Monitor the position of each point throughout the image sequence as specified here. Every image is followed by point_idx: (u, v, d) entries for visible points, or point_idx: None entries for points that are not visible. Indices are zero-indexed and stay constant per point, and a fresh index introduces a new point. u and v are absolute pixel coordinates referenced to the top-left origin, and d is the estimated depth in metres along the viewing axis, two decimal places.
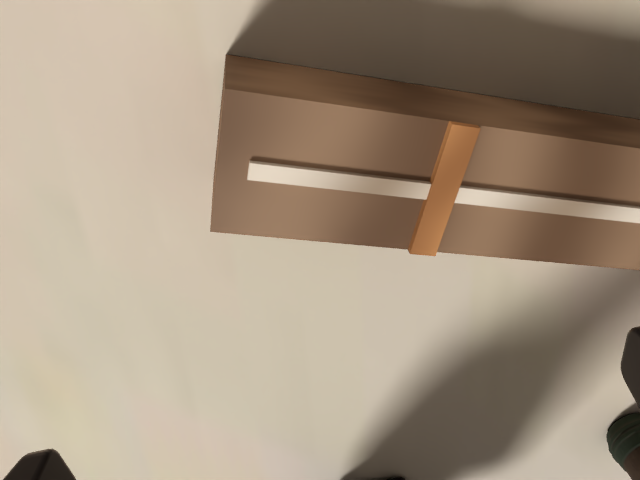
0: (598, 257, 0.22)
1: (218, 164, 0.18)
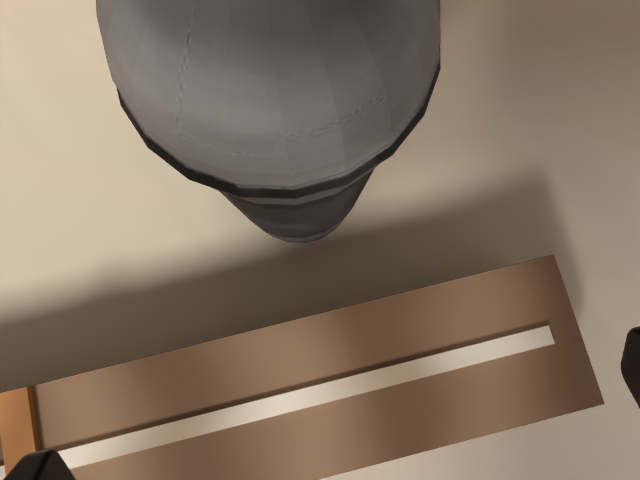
0: (271, 477, 0.17)
1: None
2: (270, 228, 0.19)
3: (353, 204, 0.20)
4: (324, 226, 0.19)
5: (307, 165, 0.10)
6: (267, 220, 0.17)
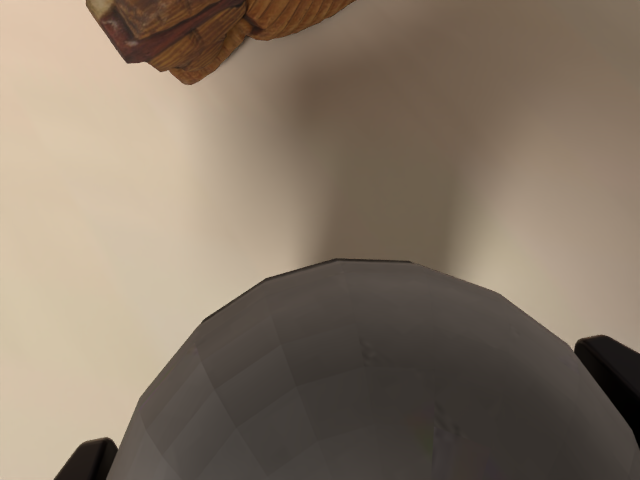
0: None
1: None
2: None
3: None
4: None
5: None
6: None
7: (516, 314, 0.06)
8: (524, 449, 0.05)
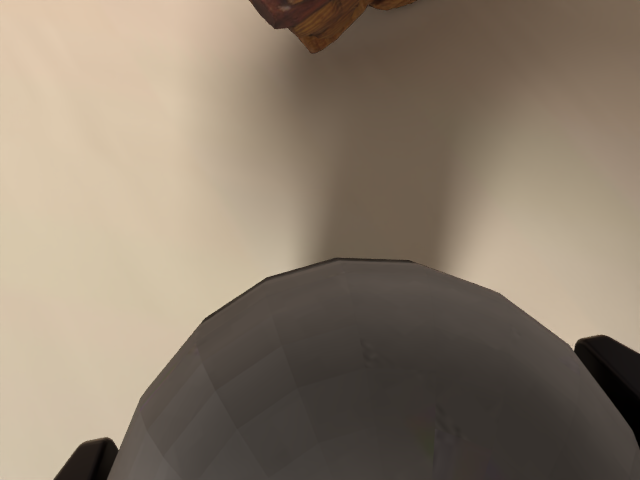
0: None
1: None
2: None
3: None
4: None
5: None
6: None
7: (517, 314, 0.06)
8: (525, 451, 0.05)
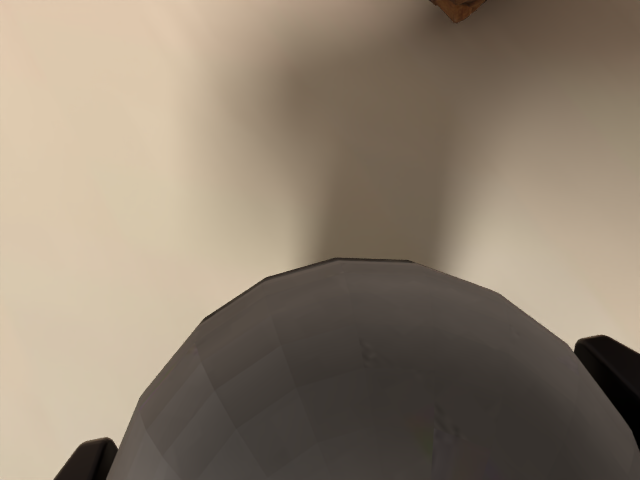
0: None
1: None
2: None
3: None
4: None
5: None
6: None
7: (516, 314, 0.06)
8: (524, 450, 0.05)
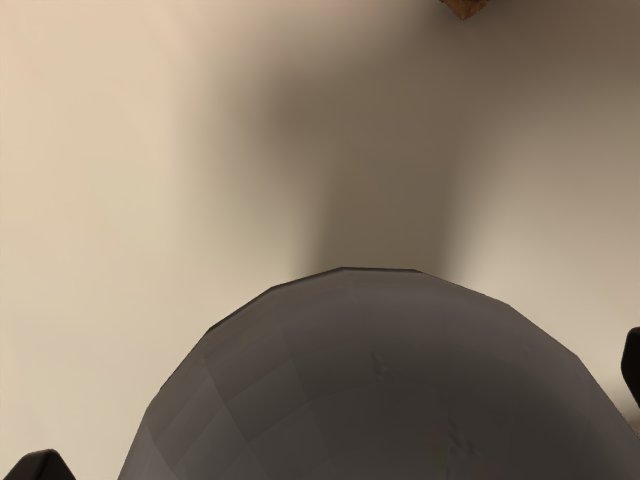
0: None
1: None
2: None
3: None
4: None
5: None
6: None
7: (526, 326, 0.06)
8: (538, 466, 0.05)
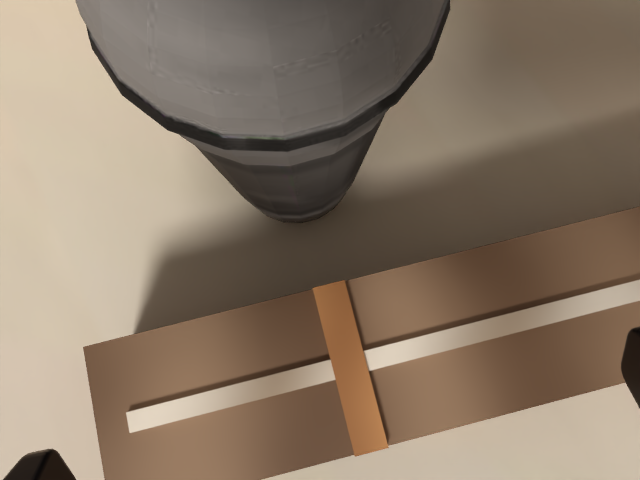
0: (607, 372, 0.16)
1: (98, 429, 0.16)
2: (264, 203, 0.18)
3: (352, 179, 0.19)
4: (321, 201, 0.18)
5: (300, 108, 0.09)
6: (260, 191, 0.16)
7: None
8: None
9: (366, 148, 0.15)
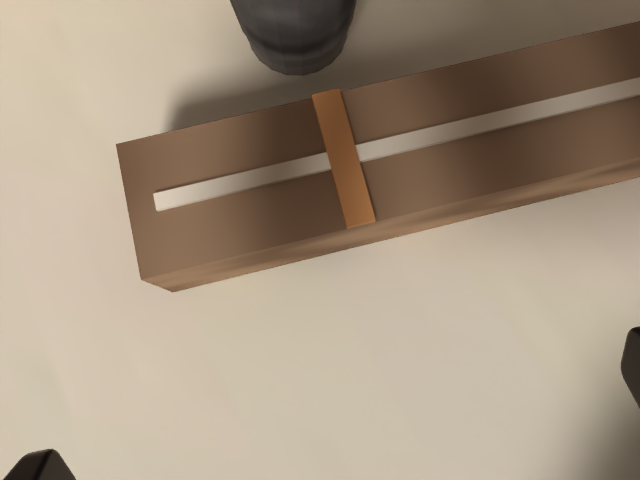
0: (562, 164, 0.19)
1: (129, 209, 0.19)
2: (270, 32, 0.21)
3: (347, 19, 0.22)
4: (320, 31, 0.21)
5: None
6: (267, 3, 0.19)
7: None
8: None
9: None
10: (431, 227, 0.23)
